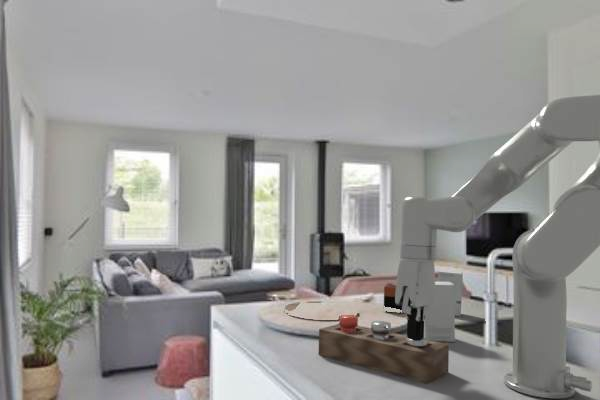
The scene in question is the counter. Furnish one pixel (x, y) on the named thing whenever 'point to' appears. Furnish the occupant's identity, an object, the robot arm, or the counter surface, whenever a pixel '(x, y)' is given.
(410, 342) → the plug
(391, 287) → the battery
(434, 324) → the skincare box
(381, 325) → the plug
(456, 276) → the skincare box
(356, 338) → the block
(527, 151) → the robot arm
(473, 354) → the counter surface
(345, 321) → the red plug
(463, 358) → the counter surface
